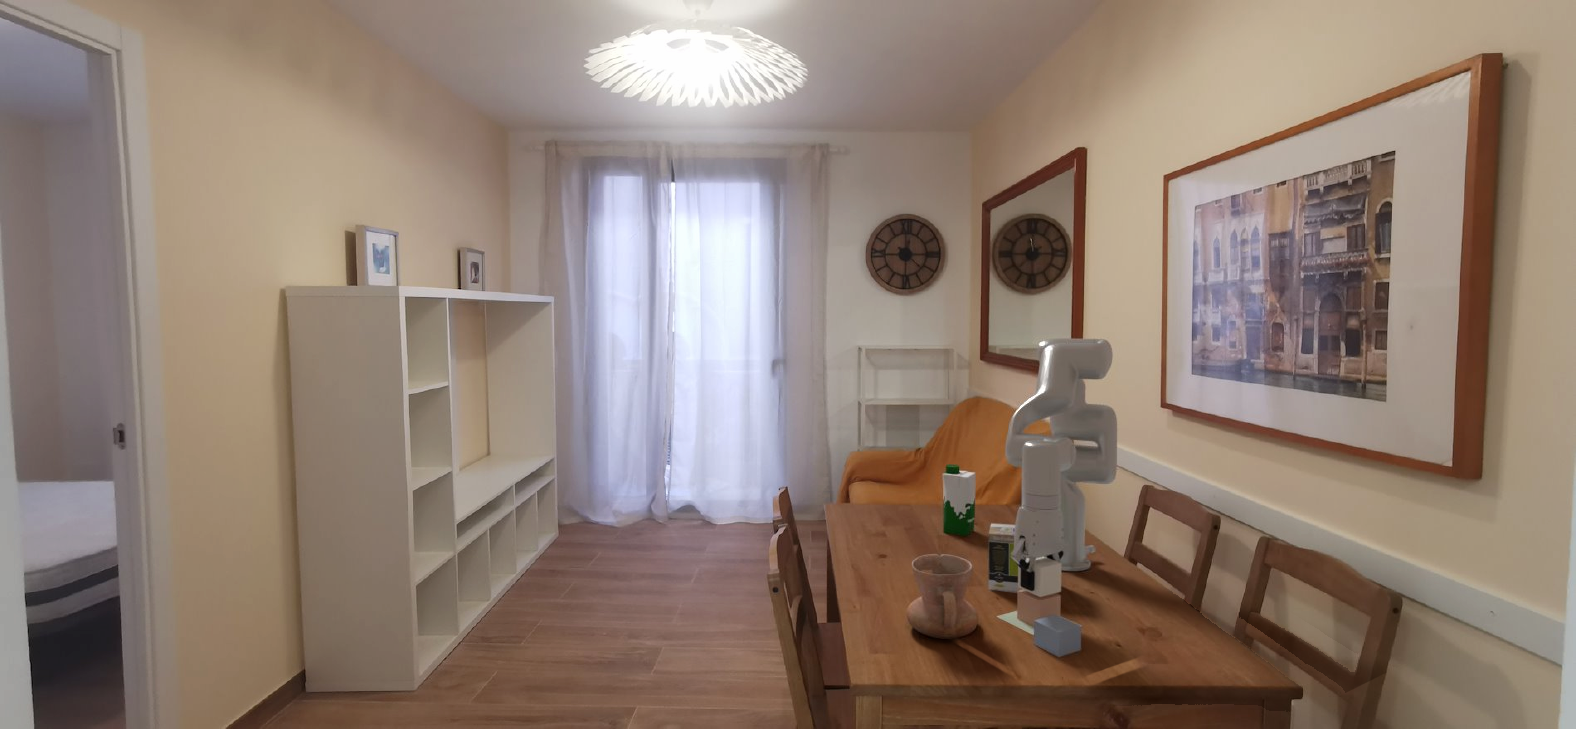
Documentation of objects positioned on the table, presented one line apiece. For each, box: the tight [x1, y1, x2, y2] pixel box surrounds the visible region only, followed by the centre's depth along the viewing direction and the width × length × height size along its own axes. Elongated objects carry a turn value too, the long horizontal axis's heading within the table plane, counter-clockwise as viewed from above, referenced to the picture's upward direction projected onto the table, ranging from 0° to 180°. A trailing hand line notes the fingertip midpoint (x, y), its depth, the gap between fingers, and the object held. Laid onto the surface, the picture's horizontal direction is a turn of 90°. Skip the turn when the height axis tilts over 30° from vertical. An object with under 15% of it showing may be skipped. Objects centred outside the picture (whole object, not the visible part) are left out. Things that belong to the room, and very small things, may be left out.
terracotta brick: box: [1016, 590, 1062, 627], centre depth 147 cm, size 6×6×6 cm
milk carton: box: [942, 464, 976, 537], centre depth 213 cm, size 9×9×20 cm
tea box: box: [987, 522, 1045, 594], centre depth 167 cm, size 15×10×15 cm
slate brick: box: [1033, 615, 1082, 658], centre depth 135 cm, size 6×6×6 cm
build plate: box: [995, 610, 1083, 636], centre depth 147 cm, size 12×12×1 cm
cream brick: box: [1018, 556, 1062, 597], centre depth 147 cm, size 6×6×6 cm
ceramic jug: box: [906, 553, 979, 640], centre depth 145 cm, size 18×14×14 cm
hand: (1039, 584), depth 147 cm, fingers closed on cream brick, 6 cm apart
